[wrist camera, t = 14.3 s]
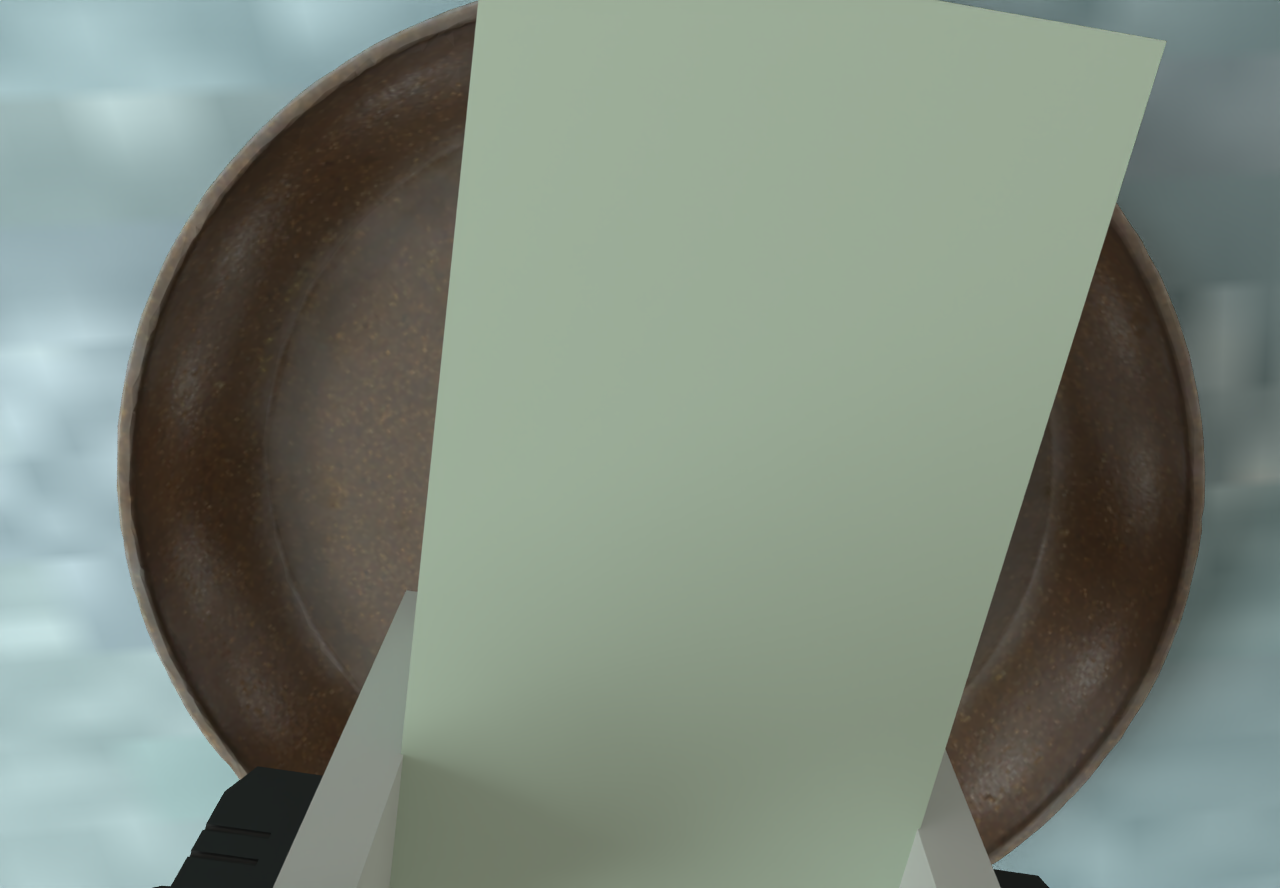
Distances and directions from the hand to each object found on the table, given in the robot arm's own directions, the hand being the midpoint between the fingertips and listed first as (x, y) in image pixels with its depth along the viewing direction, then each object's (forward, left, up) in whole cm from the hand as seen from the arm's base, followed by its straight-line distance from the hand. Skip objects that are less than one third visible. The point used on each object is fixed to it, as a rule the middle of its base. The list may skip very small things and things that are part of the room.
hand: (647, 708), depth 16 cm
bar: (0, +3, +1) cm, 3 cm away
